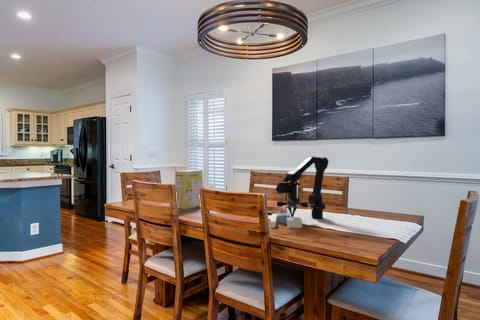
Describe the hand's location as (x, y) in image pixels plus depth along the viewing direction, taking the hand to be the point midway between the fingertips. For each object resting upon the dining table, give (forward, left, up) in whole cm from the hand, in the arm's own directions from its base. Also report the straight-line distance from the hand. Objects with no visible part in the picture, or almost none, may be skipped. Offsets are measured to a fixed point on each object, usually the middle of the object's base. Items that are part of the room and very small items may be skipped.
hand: (292, 217), depth 194 cm
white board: (+11, +6, -2) cm, 13 cm away
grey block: (-1, +12, -2) cm, 12 cm away
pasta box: (+79, -37, -2) cm, 87 cm away
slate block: (+5, +1, -2) cm, 6 cm away
